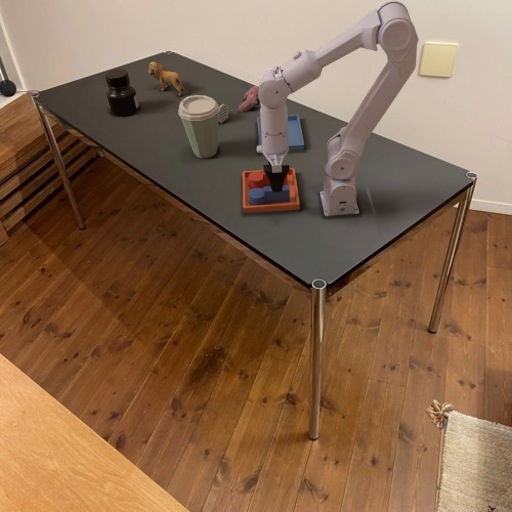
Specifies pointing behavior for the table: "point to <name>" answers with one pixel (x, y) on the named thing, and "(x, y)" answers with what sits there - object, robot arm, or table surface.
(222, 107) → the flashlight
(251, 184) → the red round-ended block
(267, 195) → the blue round-ended block
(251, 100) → the pink shoe
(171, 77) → the lion figurine
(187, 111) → the disposable coffee cup
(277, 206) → the terracotta tray
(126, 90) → the ink bottle
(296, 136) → the blue tray
